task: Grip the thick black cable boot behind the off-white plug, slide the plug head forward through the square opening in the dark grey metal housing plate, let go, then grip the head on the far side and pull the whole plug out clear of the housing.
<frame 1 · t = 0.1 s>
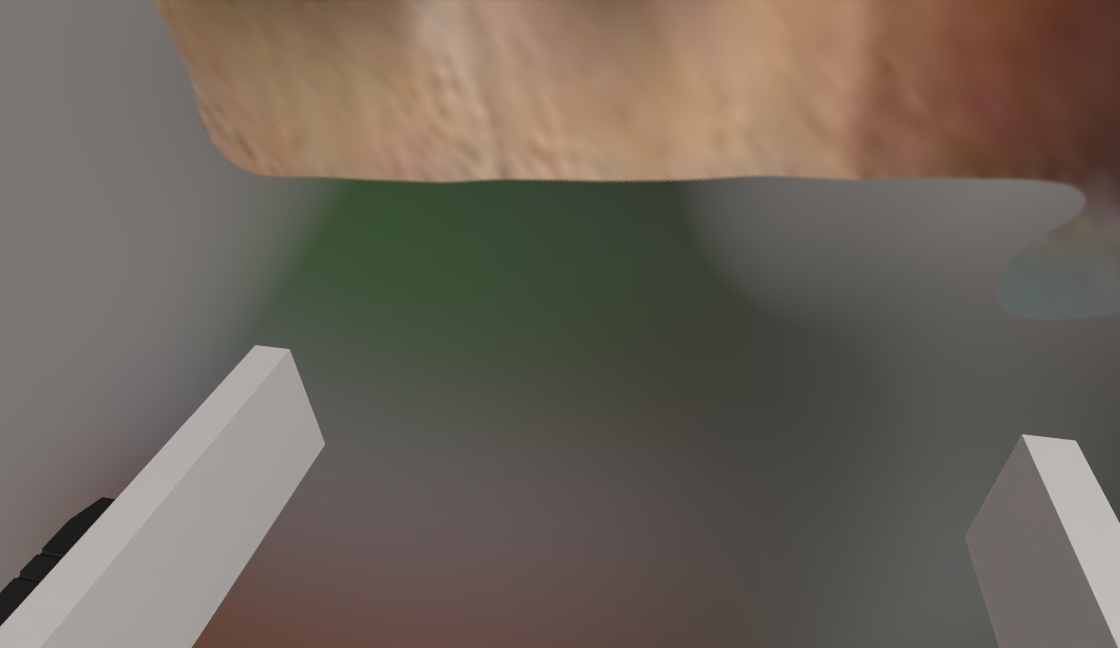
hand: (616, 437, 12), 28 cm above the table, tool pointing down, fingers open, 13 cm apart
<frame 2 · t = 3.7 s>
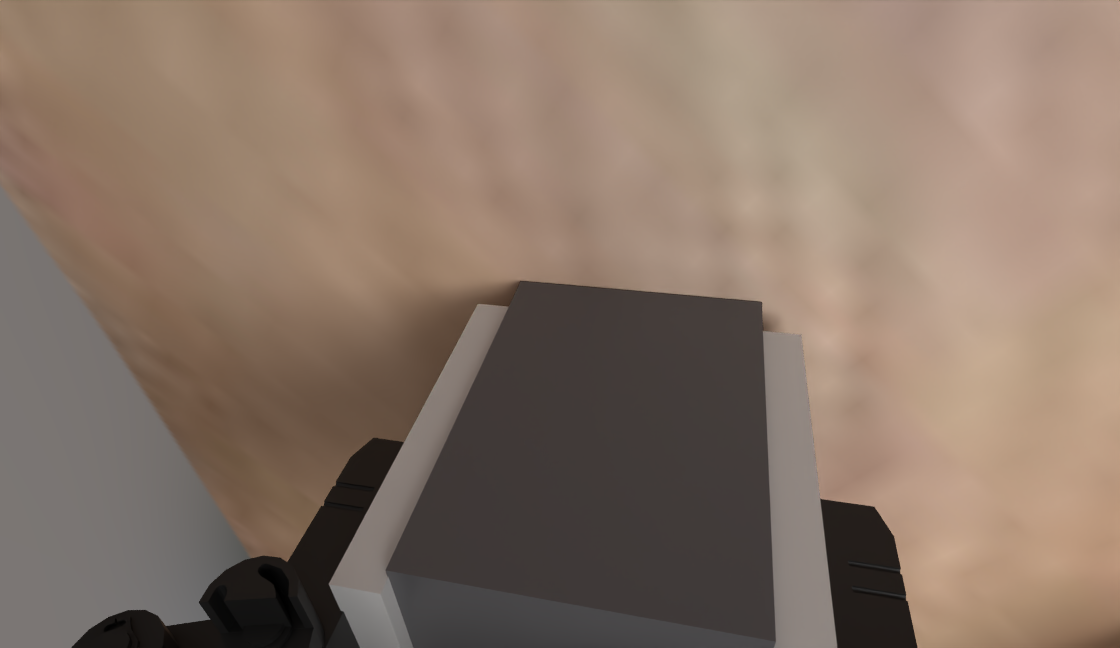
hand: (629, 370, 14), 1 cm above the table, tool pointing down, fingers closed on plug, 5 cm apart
plug: (627, 556, 19), on the table, touching gripper
when the fingers open (1 cm above the table, at t = 5.7 s): plug stays where it is, on the table.
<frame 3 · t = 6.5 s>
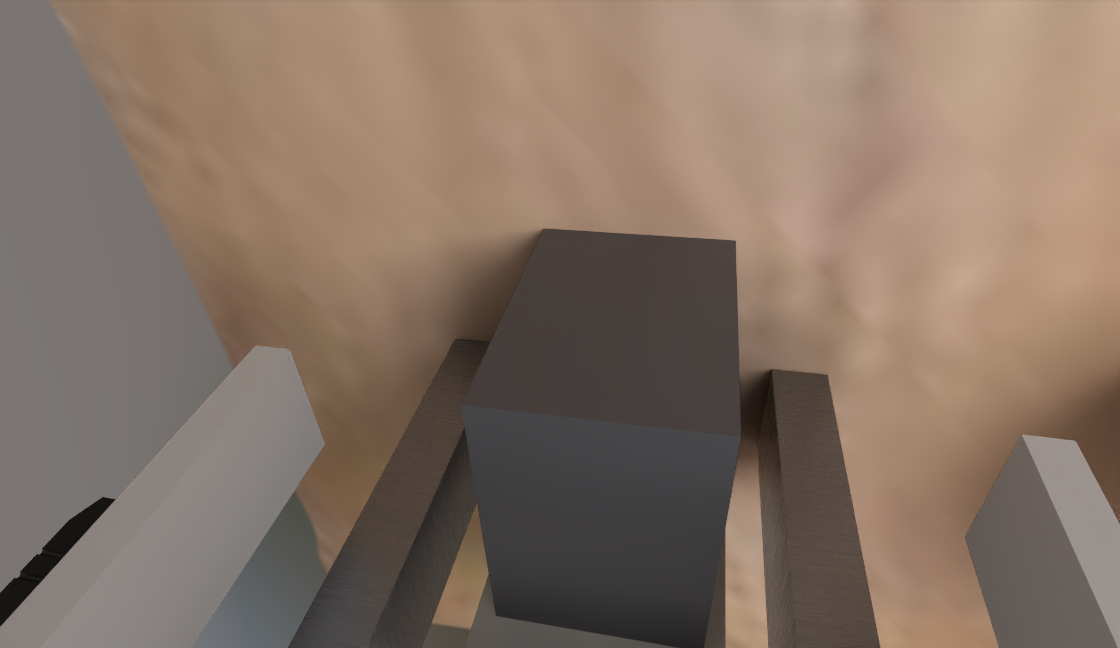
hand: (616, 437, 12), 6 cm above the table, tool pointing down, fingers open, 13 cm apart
housing: (630, 394, 20), on the table
plug: (627, 479, 23), on the table
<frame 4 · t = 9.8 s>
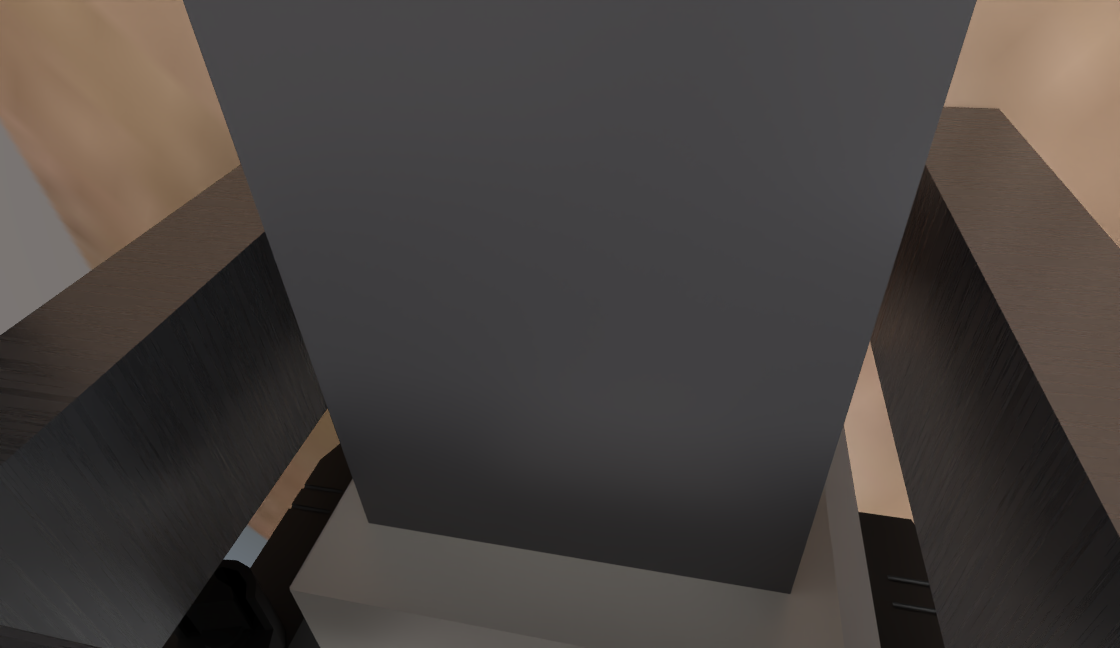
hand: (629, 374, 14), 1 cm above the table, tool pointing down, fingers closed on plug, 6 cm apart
housing: (640, 179, 12), on the table
plug: (635, 345, 15), on the table, touching gripper
when the fingers open (1 cm above the table, at t = 12.6 s): plug stays where it is, on the table.
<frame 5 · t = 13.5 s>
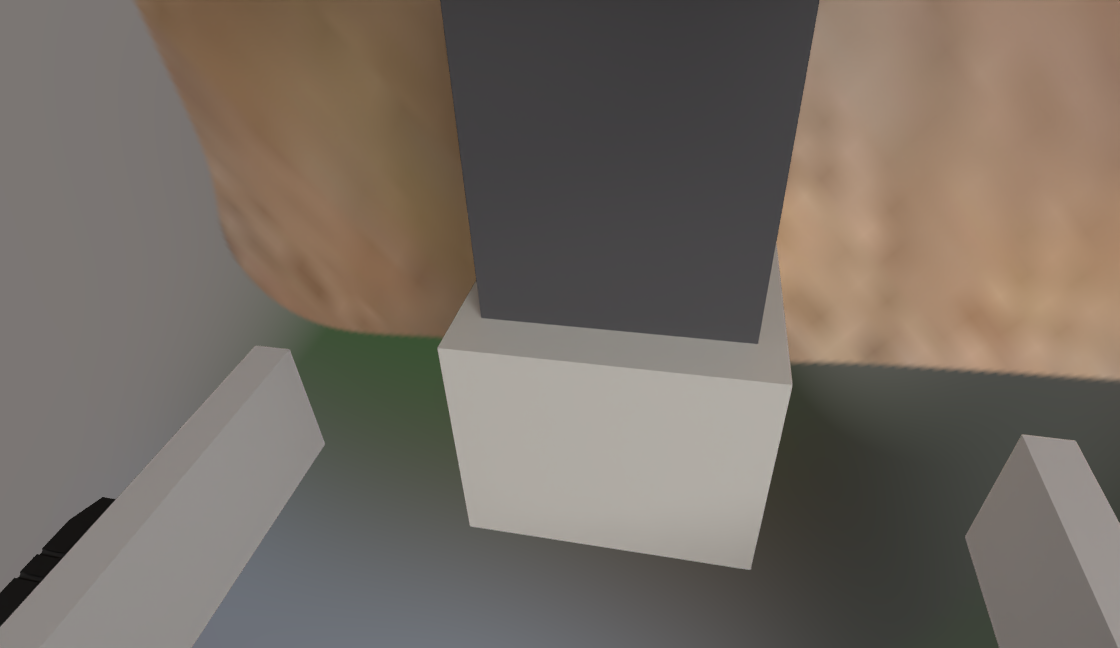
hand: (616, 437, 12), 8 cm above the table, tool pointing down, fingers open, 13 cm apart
plug: (647, 256, 19), on the table
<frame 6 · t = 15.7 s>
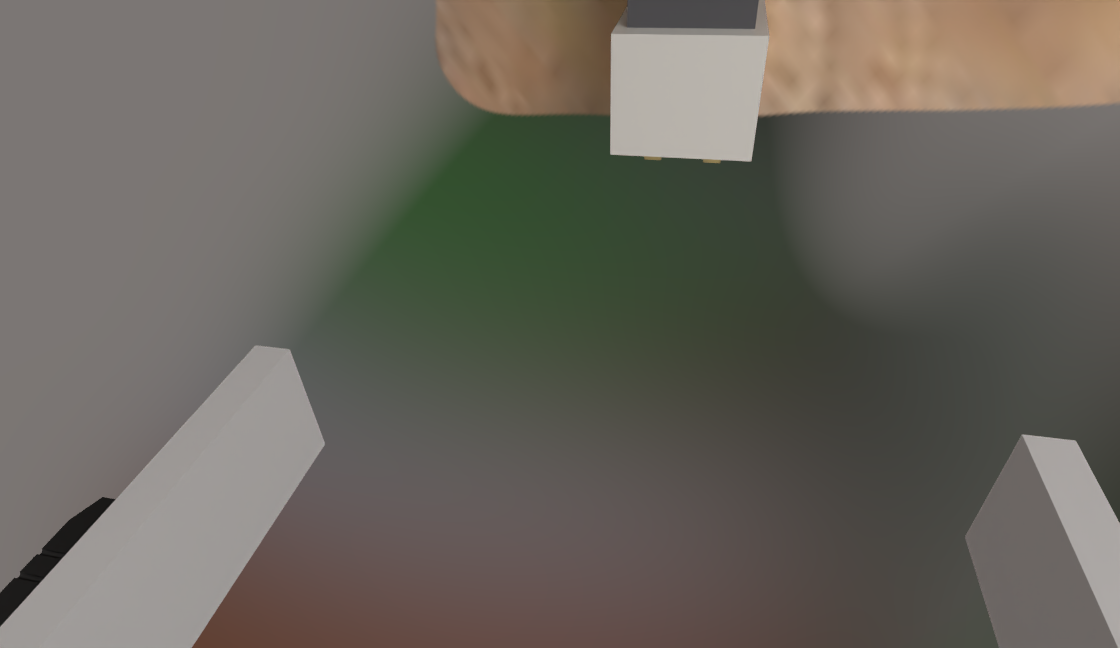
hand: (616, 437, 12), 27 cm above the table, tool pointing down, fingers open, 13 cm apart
plug: (694, 45, 33), on the table
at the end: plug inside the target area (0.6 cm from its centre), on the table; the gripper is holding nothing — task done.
